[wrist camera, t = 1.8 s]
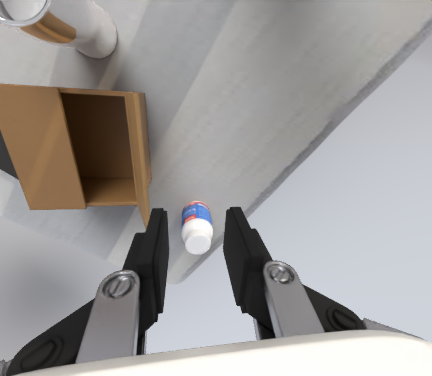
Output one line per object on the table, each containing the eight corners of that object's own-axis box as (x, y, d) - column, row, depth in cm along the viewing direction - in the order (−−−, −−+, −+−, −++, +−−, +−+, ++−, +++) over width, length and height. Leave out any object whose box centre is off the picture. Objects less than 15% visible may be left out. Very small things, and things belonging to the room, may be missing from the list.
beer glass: (72, 62, 27) (-37, 29, 14) (54, -4, 24) (-108, -128, 11) (125, 62, 28) (70, 30, 15) (113, -3, 25) (31, -117, 12)
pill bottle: (192, 195, 38) (194, 224, 29) (214, 208, 40) (222, 239, 31) (176, 216, 40) (174, 250, 31) (199, 227, 41) (202, 262, 33)
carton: (144, 93, 30) (126, 91, 21) (151, 179, 36) (139, 208, 27) (48, 87, 28) (-19, 82, 19) (72, 179, 34) (29, 210, 25)
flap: (125, 92, 21) (129, 92, 21) (138, 207, 27) (141, 207, 27) (133, 92, 16) (138, 92, 16) (147, 235, 21) (151, 234, 22)
